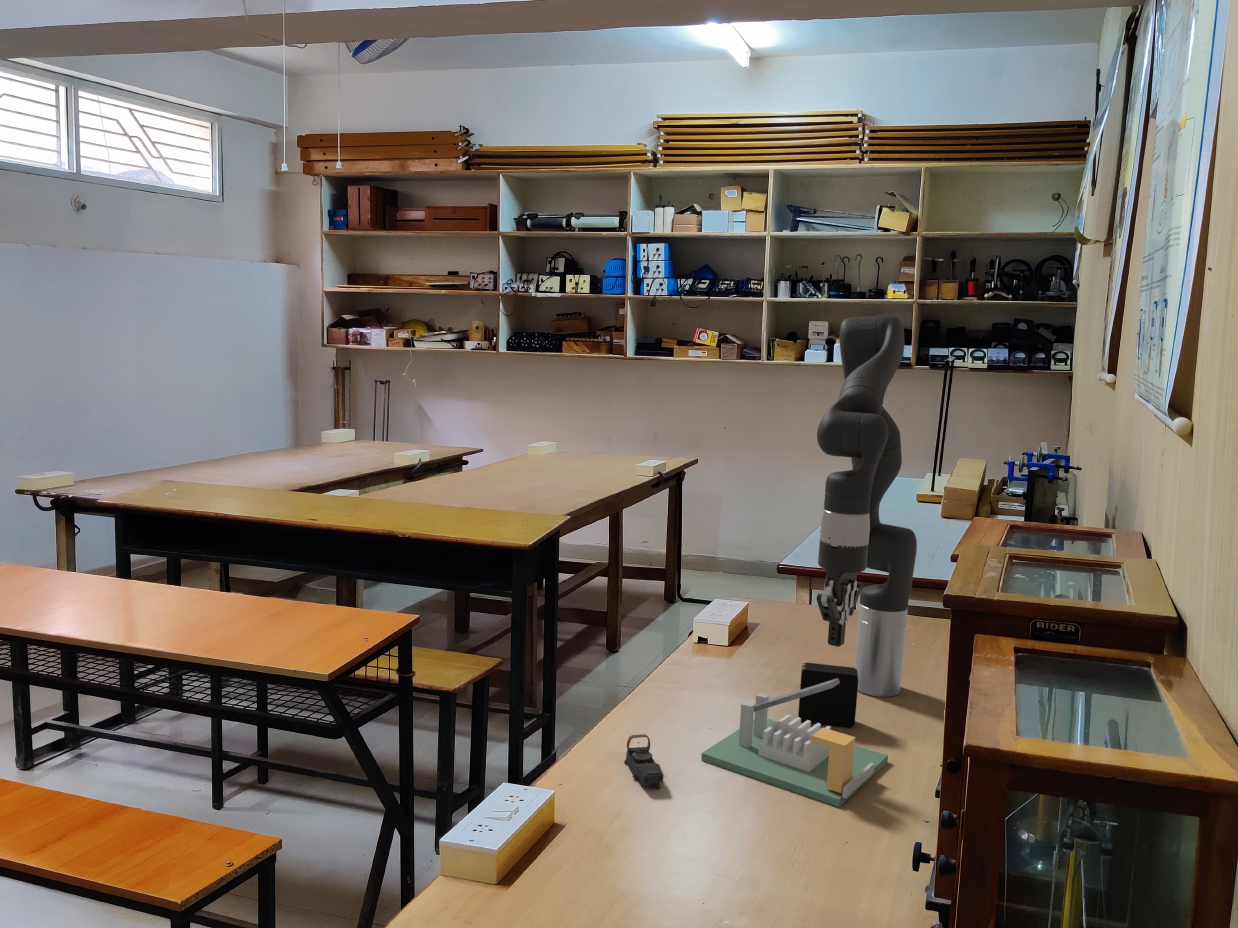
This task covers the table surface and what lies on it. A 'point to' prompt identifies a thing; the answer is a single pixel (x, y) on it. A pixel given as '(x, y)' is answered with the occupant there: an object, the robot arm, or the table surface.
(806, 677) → the electronic device
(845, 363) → the robot arm
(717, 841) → the table surface
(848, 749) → the clip
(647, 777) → the reflex sight
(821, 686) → the strap
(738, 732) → the slotted rack on board
